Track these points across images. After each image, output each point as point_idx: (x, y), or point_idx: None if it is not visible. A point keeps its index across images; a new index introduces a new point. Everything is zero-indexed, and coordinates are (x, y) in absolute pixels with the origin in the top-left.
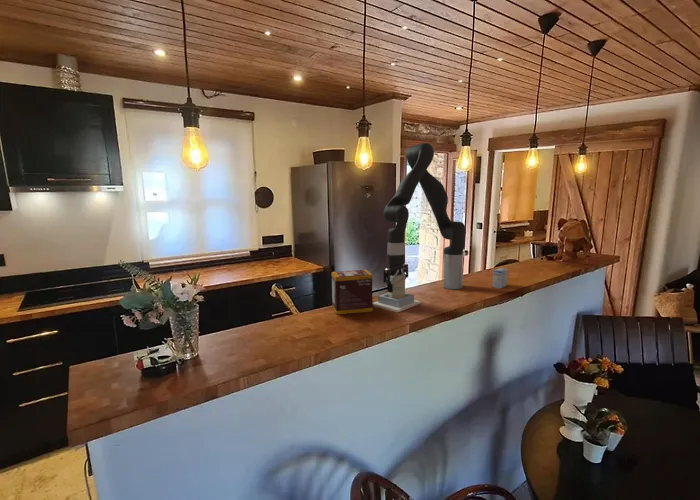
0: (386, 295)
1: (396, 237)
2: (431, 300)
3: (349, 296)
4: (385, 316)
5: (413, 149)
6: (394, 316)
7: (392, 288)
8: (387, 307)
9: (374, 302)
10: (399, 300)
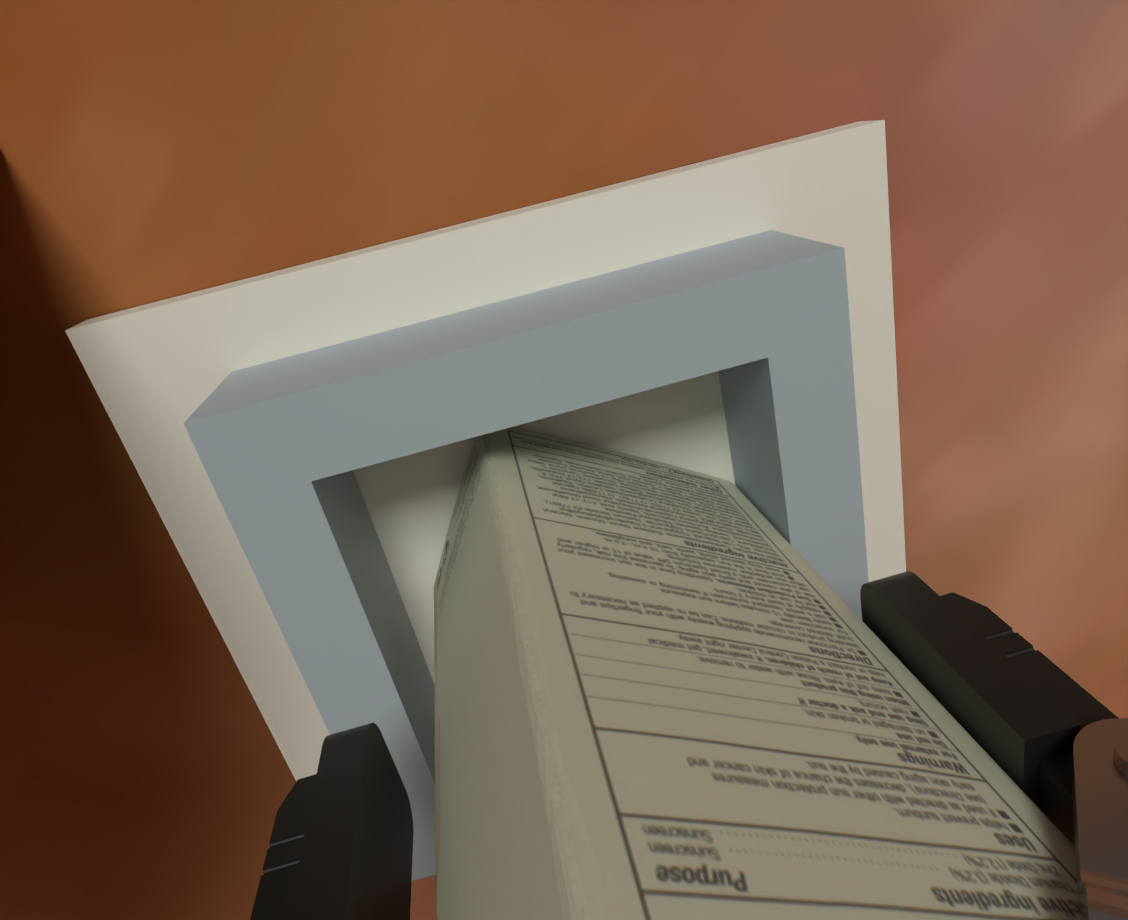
0: (448, 435)
1: None
2: (1117, 615)
3: None
4: (70, 867)
5: None
6: (199, 906)
7: (397, 909)
8: (249, 689)
9: (155, 314)
10: (429, 873)
